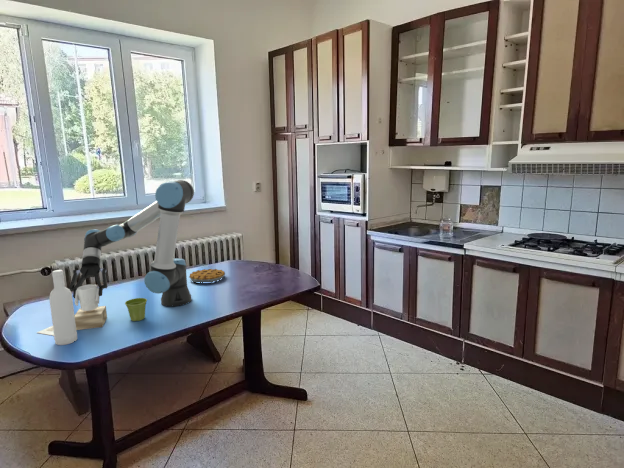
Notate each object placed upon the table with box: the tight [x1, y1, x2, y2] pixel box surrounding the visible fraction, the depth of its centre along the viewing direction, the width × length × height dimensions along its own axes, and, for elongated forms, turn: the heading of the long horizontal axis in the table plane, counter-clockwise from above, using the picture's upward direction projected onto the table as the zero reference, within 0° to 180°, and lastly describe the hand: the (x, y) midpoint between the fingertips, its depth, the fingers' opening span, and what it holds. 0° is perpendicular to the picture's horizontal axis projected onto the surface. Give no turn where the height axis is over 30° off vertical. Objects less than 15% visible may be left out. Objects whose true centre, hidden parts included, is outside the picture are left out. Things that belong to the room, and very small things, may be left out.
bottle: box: [48, 269, 78, 346], centre depth 159 cm, size 8×8×30 cm
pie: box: [188, 268, 226, 283], centre depth 244 cm, size 22×22×5 cm
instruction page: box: [36, 325, 54, 337], centre depth 171 cm, size 12×9×1 cm
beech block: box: [74, 305, 108, 331], centre depth 178 cm, size 11×11×6 cm
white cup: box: [77, 284, 99, 311], centre depth 176 cm, size 8×8×10 cm
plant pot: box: [124, 297, 148, 322], centre depth 183 cm, size 9×9×9 cm
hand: (86, 303), depth 173 cm, fingers closed on white cup, 8 cm apart
